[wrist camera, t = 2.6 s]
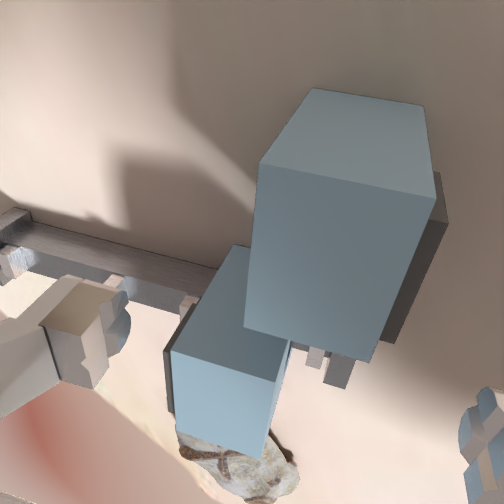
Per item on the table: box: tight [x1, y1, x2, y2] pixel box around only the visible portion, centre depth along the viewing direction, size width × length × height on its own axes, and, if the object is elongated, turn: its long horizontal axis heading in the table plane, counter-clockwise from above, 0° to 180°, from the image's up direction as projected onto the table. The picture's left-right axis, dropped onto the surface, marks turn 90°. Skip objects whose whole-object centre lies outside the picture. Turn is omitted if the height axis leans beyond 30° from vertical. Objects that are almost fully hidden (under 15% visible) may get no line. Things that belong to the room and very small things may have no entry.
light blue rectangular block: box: [163, 244, 293, 460], centre depth 21 cm, size 5×6×8 cm
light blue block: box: [243, 88, 449, 363], centre depth 15 cm, size 5×6×8 cm
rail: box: [0, 207, 356, 389], centre depth 24 cm, size 23×4×4 cm, turn 85°
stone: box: [175, 424, 300, 504], centre depth 34 cm, size 12×9×3 cm
